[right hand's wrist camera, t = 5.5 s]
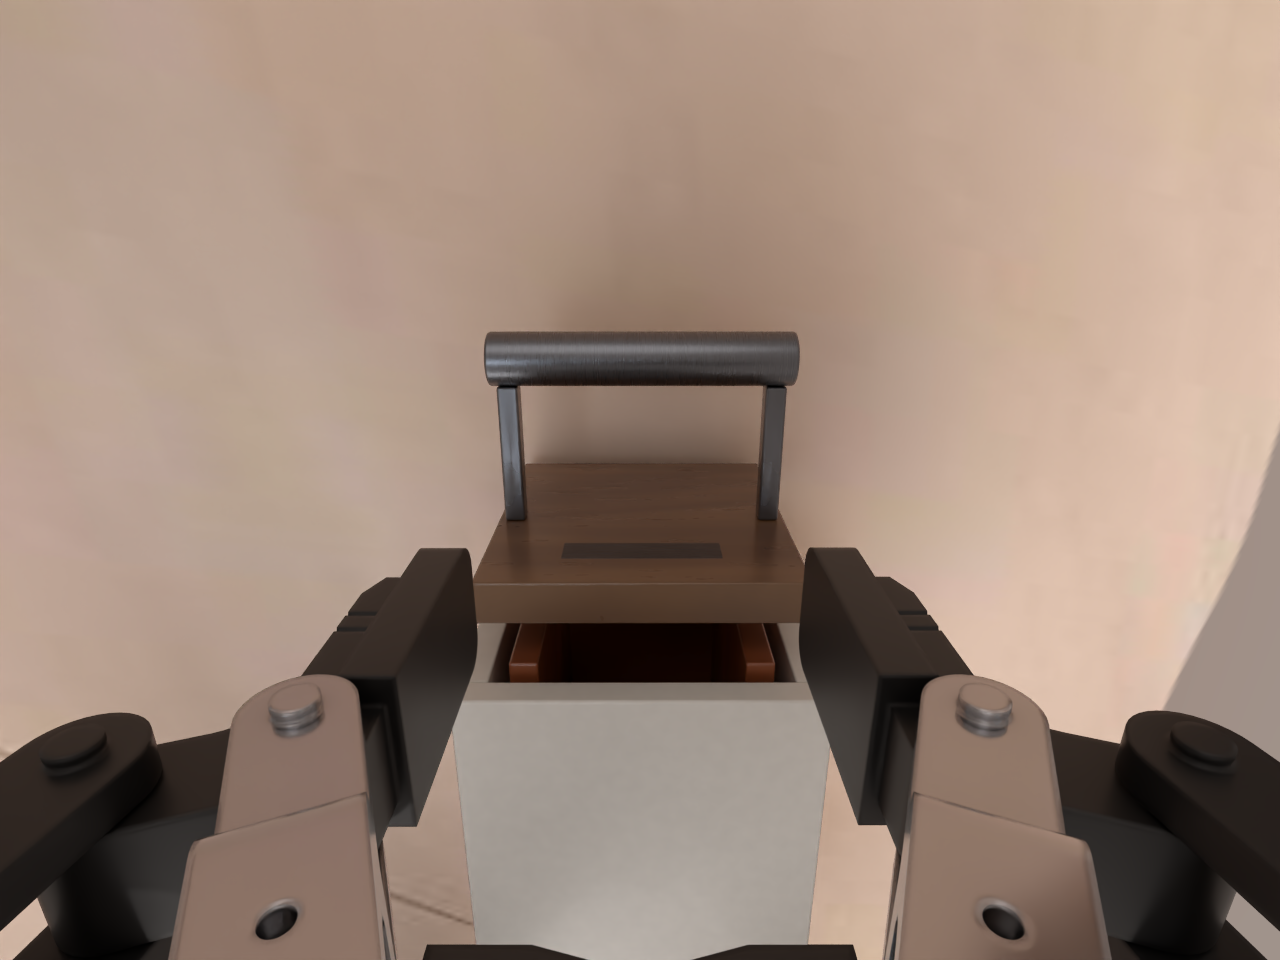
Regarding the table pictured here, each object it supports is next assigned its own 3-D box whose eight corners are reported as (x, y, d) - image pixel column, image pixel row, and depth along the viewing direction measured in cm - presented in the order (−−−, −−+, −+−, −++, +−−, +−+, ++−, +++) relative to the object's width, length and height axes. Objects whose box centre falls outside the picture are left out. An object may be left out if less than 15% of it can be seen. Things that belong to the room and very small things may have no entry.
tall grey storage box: (517, 524, 29) (447, 701, 18) (764, 523, 29) (836, 701, 18) (540, 875, 35) (498, 1155, 25) (741, 875, 35) (784, 1155, 25)
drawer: (516, 309, 25) (449, 360, 16) (766, 309, 25) (835, 360, 16) (546, 826, 33) (513, 1048, 24) (735, 826, 33) (770, 1048, 24)
